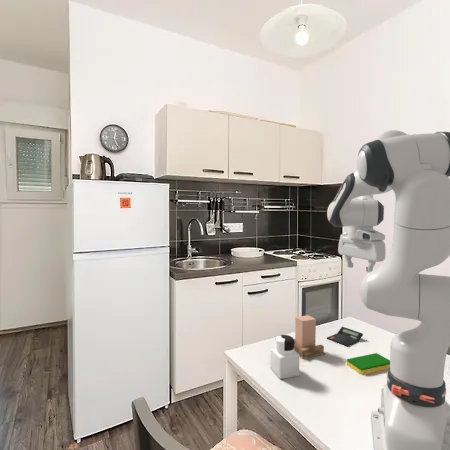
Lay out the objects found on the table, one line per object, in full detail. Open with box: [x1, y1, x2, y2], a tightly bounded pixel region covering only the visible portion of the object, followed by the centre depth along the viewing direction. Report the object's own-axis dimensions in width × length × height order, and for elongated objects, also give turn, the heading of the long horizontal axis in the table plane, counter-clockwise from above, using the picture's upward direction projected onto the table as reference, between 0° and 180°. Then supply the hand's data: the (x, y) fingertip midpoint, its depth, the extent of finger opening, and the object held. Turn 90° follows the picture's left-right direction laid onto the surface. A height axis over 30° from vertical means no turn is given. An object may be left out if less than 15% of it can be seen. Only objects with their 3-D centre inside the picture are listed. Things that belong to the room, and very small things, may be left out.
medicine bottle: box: [269, 334, 301, 380], centre depth 101 cm, size 7×7×12 cm
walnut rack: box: [293, 338, 326, 360], centre depth 117 cm, size 10×11×3 cm
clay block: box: [294, 314, 317, 348], centre depth 117 cm, size 6×4×12 cm
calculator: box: [326, 326, 363, 348], centre depth 127 cm, size 9×12×3 cm
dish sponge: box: [346, 352, 390, 376], centre depth 106 cm, size 7×14×2 cm, turn 110°
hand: (359, 269), depth 117 cm, fingers open, 8 cm apart
